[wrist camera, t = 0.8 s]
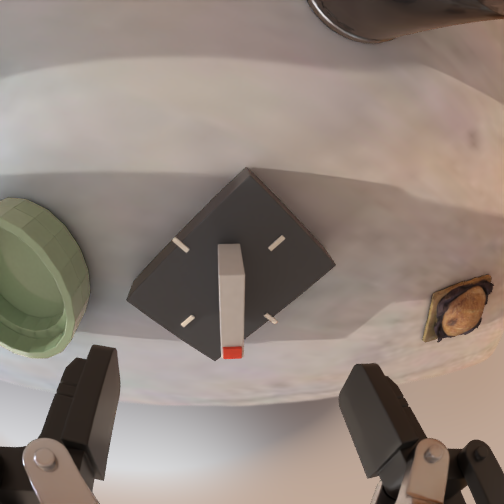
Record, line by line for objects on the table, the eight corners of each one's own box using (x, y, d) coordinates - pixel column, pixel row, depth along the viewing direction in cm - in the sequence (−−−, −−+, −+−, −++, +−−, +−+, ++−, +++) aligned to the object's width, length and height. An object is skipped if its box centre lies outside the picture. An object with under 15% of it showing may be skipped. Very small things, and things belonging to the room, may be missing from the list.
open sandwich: (418, 342, 35) (431, 361, 32) (431, 287, 31) (449, 306, 28) (476, 321, 35) (490, 337, 32) (492, 270, 32) (509, 285, 28)
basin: (6, 163, 20) (-27, 178, 16) (120, 267, 26) (104, 299, 22) (-35, 267, 24) (-59, 290, 20) (56, 347, 30) (42, 378, 25)
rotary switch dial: (240, 160, 23) (244, 169, 21) (329, 253, 28) (341, 270, 25) (128, 277, 27) (119, 297, 24) (218, 343, 31) (219, 365, 28)
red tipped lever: (217, 243, 23) (218, 277, 19) (240, 243, 23) (245, 276, 19) (219, 320, 26) (221, 361, 22) (239, 319, 26) (244, 360, 22)
